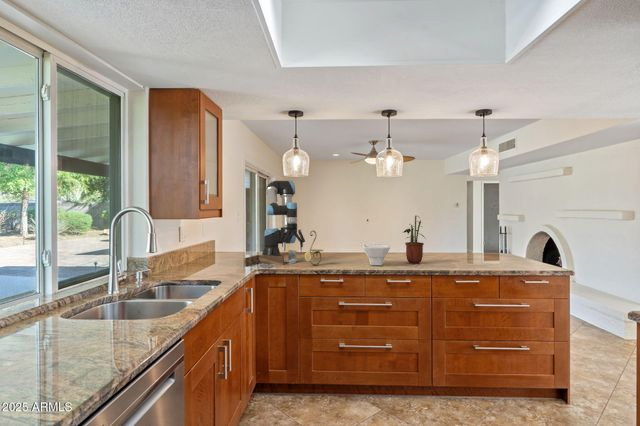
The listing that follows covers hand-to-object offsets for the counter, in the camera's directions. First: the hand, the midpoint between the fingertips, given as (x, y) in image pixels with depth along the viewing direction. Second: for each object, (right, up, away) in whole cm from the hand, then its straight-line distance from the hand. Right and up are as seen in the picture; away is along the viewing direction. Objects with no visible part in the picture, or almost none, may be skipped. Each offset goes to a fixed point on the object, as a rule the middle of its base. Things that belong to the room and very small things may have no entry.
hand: (292, 251), depth 287 cm
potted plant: (+90, -8, -8) cm, 91 cm away
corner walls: (-19, -9, -14) cm, 25 cm away
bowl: (+61, -9, -15) cm, 63 cm away
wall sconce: (+17, -9, -13) cm, 23 cm away
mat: (-18, -9, -18) cm, 27 cm away
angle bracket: (-2, -8, -3) cm, 9 cm away
